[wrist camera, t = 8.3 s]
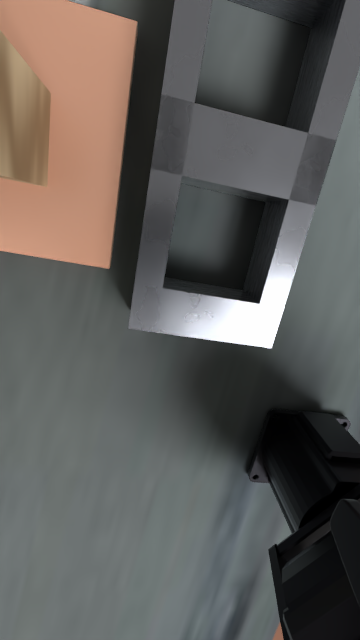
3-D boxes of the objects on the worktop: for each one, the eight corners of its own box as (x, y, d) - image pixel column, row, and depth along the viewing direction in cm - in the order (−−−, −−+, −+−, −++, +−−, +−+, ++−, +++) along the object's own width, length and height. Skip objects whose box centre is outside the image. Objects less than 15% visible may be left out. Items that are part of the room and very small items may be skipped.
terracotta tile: (110, 266, 17) (109, 268, 16) (-104, 230, 15) (-117, 231, 15) (137, 31, 14) (137, 21, 13) (-134, -49, 12) (-153, -66, 11)
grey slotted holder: (253, 329, 19) (271, 348, 17) (131, 310, 18) (128, 328, 15) (355, -28, 14) (407, -89, 11) (188, -89, 13) (199, -176, 10)
